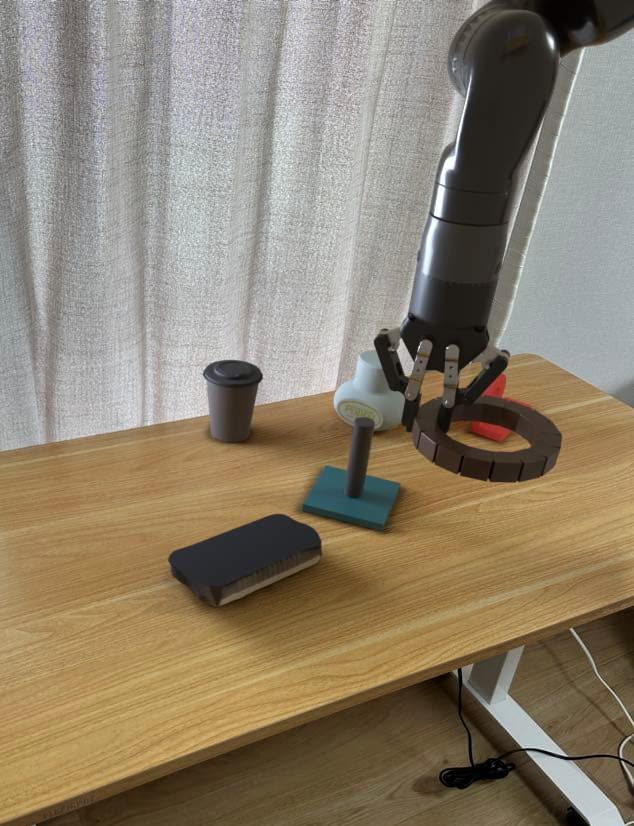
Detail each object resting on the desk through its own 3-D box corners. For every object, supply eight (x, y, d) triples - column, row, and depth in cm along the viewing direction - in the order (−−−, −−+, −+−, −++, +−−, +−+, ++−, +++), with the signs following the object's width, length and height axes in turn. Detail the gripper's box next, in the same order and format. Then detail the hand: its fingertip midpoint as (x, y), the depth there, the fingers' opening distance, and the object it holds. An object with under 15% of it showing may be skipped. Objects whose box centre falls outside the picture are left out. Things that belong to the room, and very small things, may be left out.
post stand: (399, 489, 103) (415, 412, 96) (382, 531, 96) (397, 451, 89) (324, 471, 106) (335, 395, 99) (301, 510, 98) (311, 431, 92)
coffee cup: (241, 453, 108) (245, 385, 102) (190, 436, 112) (191, 369, 106) (269, 429, 114) (274, 363, 108) (219, 413, 117) (222, 349, 111)
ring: (559, 428, 86) (565, 410, 85) (551, 496, 75) (557, 476, 74) (425, 401, 90) (429, 383, 89) (399, 462, 79) (402, 442, 78)
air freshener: (322, 421, 117) (330, 356, 111) (347, 400, 122) (357, 338, 116) (391, 444, 112) (404, 378, 106) (414, 422, 118) (427, 358, 112)
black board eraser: (207, 621, 82) (208, 593, 79) (162, 576, 87) (162, 549, 85) (327, 567, 90) (331, 540, 87) (280, 529, 95) (283, 503, 93)
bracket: (499, 441, 114) (514, 391, 110) (470, 431, 116) (483, 380, 112) (531, 412, 122) (546, 364, 117) (503, 403, 124) (517, 355, 119)
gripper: (539, 266, 75) (495, 430, 85) (392, 244, 79) (367, 403, 89) (532, 291, 69) (486, 463, 80) (375, 266, 73) (350, 434, 83)
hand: (423, 431), depth 84 cm, fingers closed on ring, 2 cm apart
